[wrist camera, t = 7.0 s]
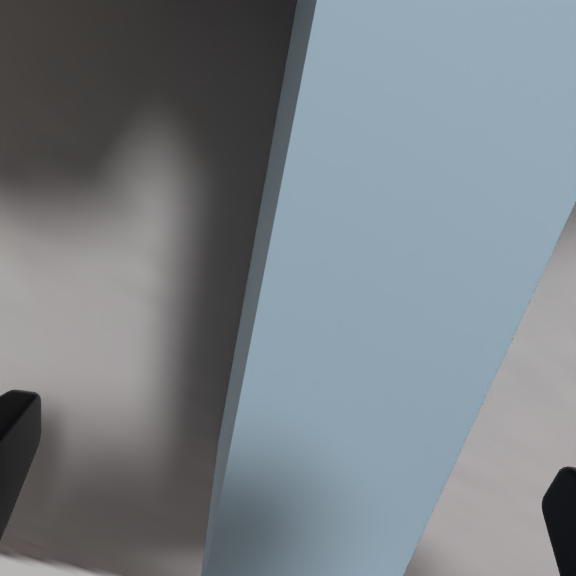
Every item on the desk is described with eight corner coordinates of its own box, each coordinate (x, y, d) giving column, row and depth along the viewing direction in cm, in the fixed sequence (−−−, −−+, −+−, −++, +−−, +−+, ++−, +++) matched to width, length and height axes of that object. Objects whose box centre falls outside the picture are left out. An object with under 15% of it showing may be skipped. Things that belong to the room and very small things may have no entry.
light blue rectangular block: (337, 455, 14) (368, 668, 10) (217, 440, 14) (189, 654, 9) (531, -151, 8) (854, -356, 4) (332, -204, 8) (412, -508, 3)
